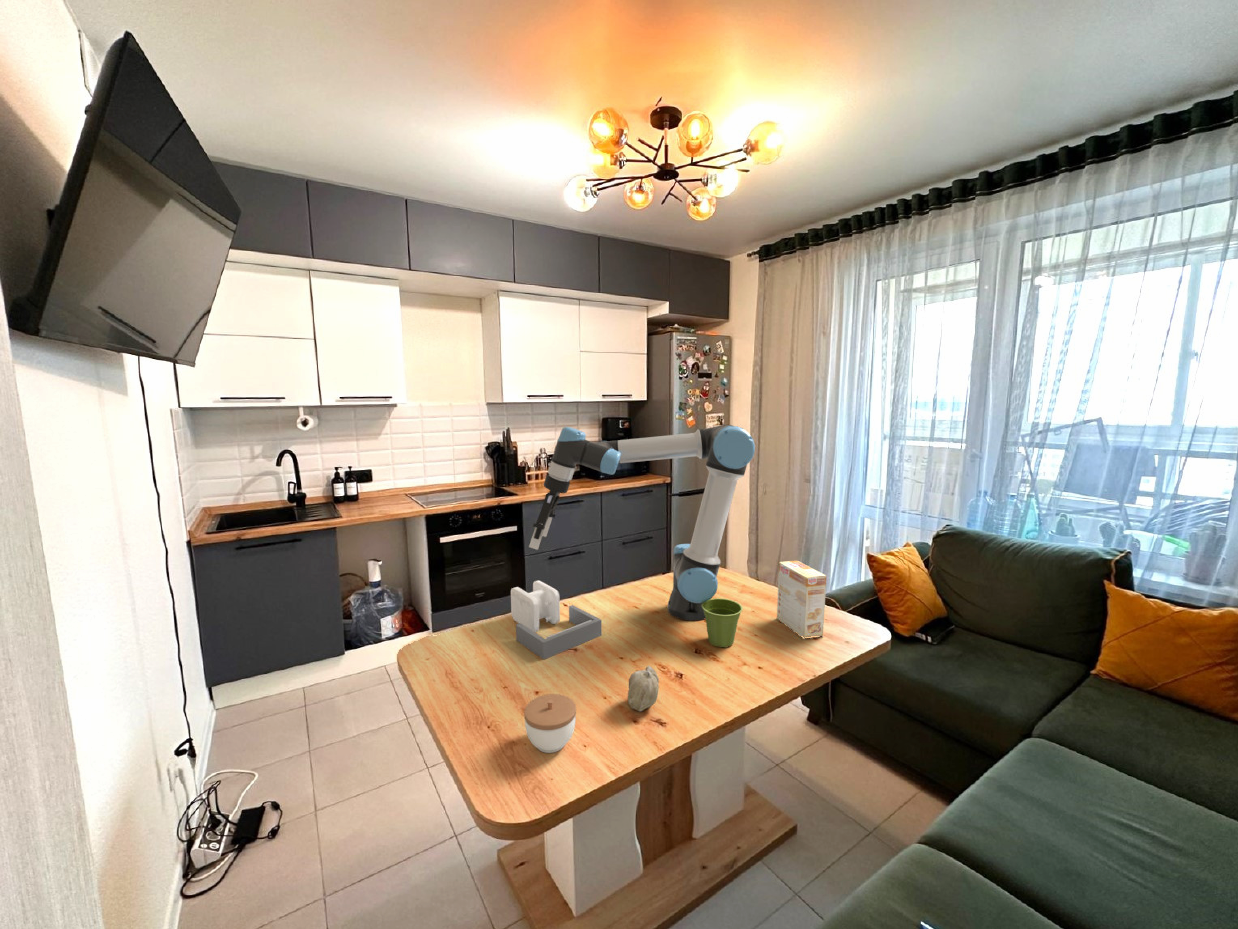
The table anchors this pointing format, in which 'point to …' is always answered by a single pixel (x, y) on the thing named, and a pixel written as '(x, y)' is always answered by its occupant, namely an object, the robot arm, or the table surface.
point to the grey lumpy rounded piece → (643, 689)
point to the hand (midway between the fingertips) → (537, 541)
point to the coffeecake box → (801, 598)
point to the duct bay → (561, 634)
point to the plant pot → (721, 620)
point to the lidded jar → (550, 721)
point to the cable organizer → (535, 605)
